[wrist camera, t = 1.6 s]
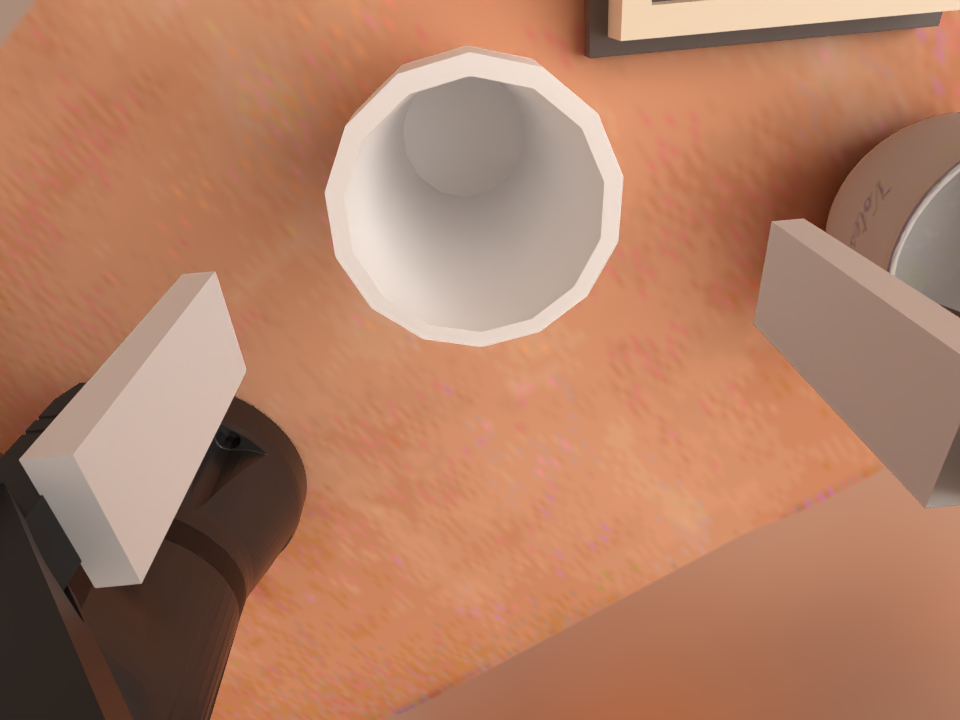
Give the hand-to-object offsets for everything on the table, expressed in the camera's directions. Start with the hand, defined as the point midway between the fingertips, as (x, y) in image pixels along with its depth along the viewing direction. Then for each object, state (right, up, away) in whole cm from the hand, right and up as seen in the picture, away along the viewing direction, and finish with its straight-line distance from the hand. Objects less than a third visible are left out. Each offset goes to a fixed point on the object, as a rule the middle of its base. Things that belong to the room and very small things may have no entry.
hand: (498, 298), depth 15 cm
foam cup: (-1, +10, +16) cm, 19 cm away
